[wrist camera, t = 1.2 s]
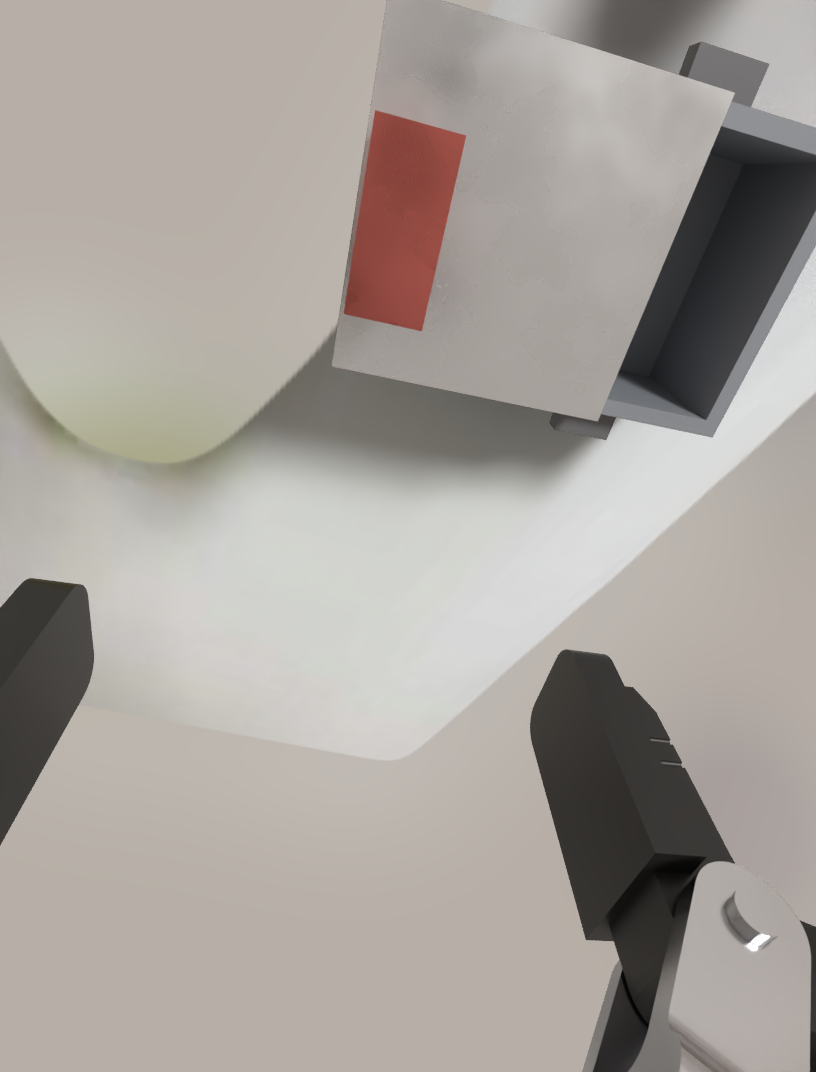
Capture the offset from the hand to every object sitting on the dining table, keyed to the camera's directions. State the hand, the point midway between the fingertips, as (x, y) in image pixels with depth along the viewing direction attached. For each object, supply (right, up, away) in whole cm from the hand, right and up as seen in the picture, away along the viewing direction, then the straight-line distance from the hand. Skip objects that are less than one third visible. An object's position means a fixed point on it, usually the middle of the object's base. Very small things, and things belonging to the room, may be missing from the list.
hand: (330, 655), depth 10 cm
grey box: (+12, +18, +22) cm, 31 cm away
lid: (+6, +15, +15) cm, 21 cm away
